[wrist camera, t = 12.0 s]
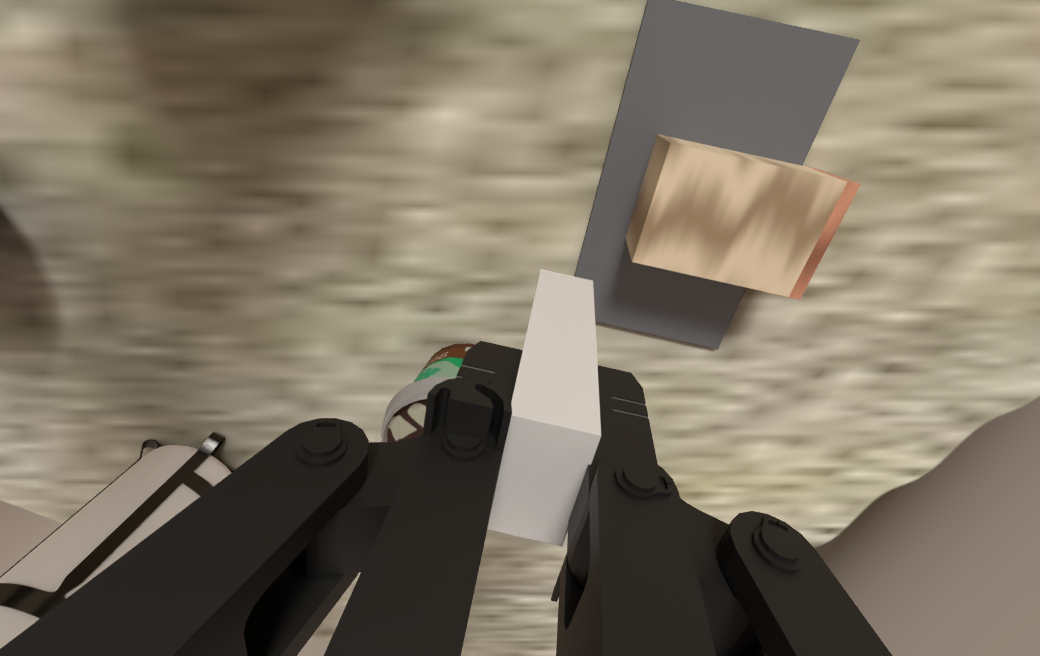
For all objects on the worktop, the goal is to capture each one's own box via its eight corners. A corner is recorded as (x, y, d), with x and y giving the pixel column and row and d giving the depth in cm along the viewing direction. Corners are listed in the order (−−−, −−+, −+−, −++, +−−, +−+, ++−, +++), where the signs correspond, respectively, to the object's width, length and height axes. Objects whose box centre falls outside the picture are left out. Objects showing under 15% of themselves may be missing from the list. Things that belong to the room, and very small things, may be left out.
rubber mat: (648, -4, 31) (649, -5, 31) (856, 40, 31) (860, 39, 31) (564, 312, 43) (564, 314, 42) (716, 346, 42) (717, 349, 42)
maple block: (817, 169, 34) (657, 134, 35) (860, 184, 29) (670, 142, 29) (769, 269, 38) (625, 237, 38) (799, 299, 33) (632, 261, 33)
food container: (450, 307, 44) (417, 363, 35) (505, 342, 45) (486, 405, 36) (393, 392, 49) (351, 459, 40) (443, 422, 50) (413, 494, 42)
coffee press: (247, 532, 63) (6, 855, 37) (134, 471, 60) (-218, 775, 34) (298, 461, 56) (41, 802, 29) (171, 387, 53) (-243, 692, 26)
